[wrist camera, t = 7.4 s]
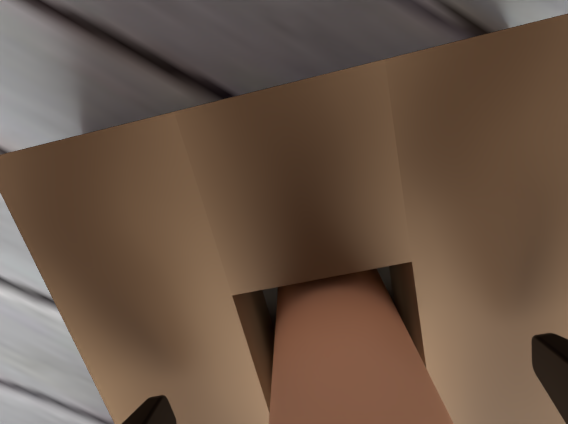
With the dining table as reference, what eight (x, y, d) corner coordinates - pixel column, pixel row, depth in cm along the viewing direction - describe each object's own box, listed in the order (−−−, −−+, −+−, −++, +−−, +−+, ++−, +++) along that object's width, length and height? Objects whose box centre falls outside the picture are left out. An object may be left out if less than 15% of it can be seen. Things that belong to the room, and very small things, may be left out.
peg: (385, 318, 13) (515, 620, 6) (290, 336, 14) (290, 644, 6) (370, 229, 12) (503, 452, 4) (267, 251, 12) (230, 494, 5)
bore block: (511, 32, 11) (630, -2, 7) (523, 394, 15) (601, 498, 11) (81, 138, 12) (-17, 159, 8) (203, 441, 16) (175, 546, 12)
